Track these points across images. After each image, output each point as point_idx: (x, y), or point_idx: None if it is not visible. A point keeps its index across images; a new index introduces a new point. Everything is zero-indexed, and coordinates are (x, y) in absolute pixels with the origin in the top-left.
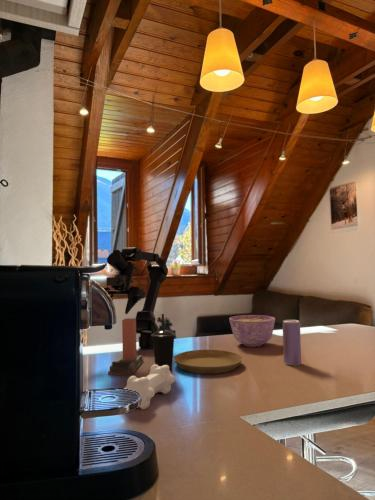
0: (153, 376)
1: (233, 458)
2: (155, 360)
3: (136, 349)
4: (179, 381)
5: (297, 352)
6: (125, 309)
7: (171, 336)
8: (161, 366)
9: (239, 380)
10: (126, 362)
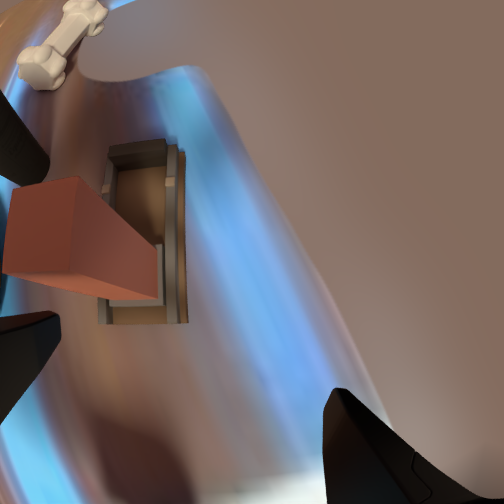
0: (51, 34)
1: (30, 9)
2: (28, 131)
3: (100, 297)
4: None
5: None
6: (32, 321)
7: None
8: (29, 48)
9: None
10: (114, 145)
